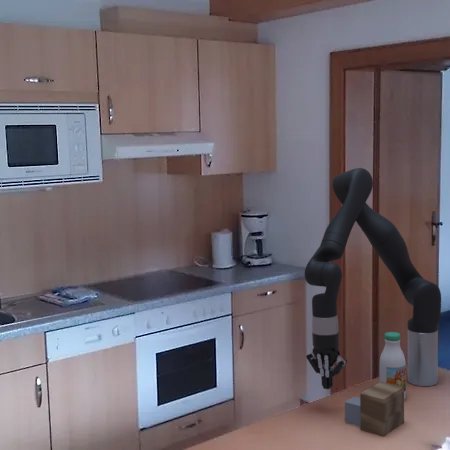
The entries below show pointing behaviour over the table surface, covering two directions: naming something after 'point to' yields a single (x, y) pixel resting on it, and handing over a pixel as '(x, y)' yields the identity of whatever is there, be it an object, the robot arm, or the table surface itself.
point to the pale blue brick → (353, 411)
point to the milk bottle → (393, 362)
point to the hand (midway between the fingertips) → (327, 388)
